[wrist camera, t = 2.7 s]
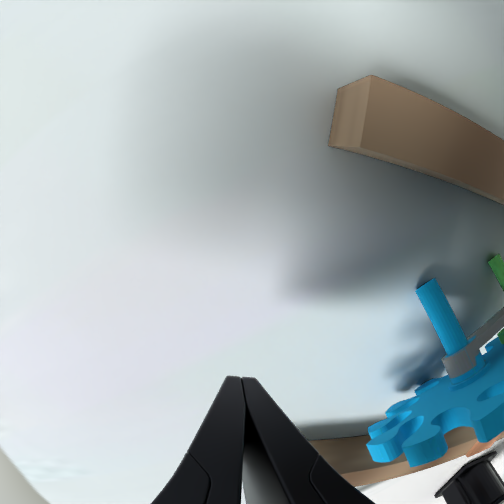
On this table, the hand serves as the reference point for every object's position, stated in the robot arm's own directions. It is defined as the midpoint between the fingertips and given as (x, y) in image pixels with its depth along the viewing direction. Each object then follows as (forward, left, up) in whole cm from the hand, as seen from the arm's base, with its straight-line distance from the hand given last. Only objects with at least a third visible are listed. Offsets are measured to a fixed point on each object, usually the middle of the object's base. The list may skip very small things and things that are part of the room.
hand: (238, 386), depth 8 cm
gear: (-10, 0, -3) cm, 10 cm away
